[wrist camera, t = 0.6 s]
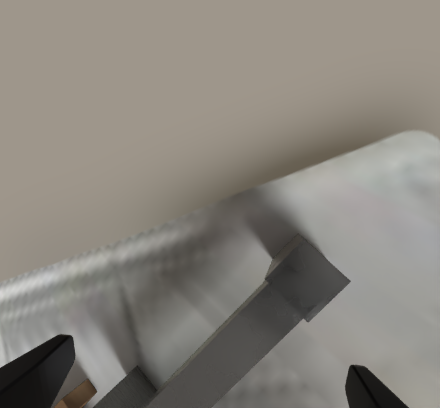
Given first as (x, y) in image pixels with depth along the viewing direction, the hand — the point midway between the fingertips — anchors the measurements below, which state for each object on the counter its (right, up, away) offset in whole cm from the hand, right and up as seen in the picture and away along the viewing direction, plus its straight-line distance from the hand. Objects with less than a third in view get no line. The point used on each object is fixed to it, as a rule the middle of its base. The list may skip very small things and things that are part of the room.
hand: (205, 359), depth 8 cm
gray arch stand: (+1, -6, +14) cm, 15 cm away
